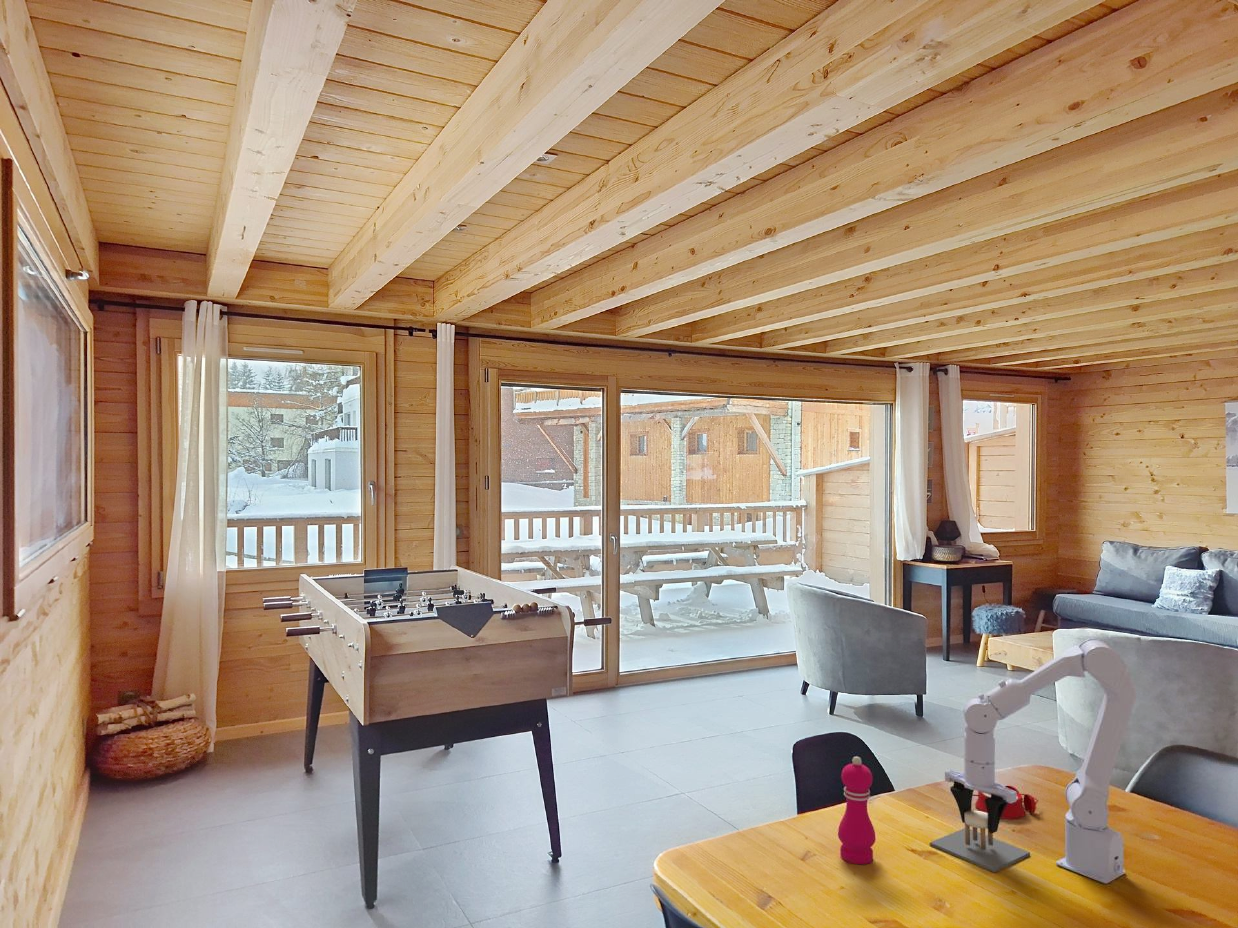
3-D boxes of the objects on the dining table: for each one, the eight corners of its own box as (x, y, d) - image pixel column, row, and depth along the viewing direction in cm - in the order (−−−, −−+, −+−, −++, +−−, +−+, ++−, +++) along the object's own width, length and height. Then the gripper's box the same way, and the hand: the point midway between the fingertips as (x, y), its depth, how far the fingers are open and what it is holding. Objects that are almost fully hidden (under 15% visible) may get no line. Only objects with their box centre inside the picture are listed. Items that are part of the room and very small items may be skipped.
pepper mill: (877, 867, 158) (877, 764, 159) (839, 863, 160) (839, 761, 160) (873, 850, 165) (873, 752, 166) (836, 847, 167) (837, 749, 167)
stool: (997, 844, 166) (996, 815, 166) (985, 851, 162) (985, 822, 162) (972, 836, 169) (971, 808, 170) (960, 843, 166) (959, 814, 166)
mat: (1030, 855, 164) (1030, 852, 164) (994, 872, 157) (994, 869, 157) (966, 829, 176) (966, 827, 176) (929, 845, 168) (929, 842, 168)
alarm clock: (961, 789, 190) (1012, 768, 194) (966, 814, 190) (1017, 793, 194) (993, 806, 180) (1046, 784, 184) (998, 833, 180) (1052, 811, 184)
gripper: (936, 753, 170) (936, 818, 170) (1002, 774, 158) (1002, 844, 158) (955, 747, 174) (955, 810, 174) (1022, 767, 162) (1022, 835, 162)
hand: (979, 826), depth 166 cm, fingers closed on stool, 5 cm apart
